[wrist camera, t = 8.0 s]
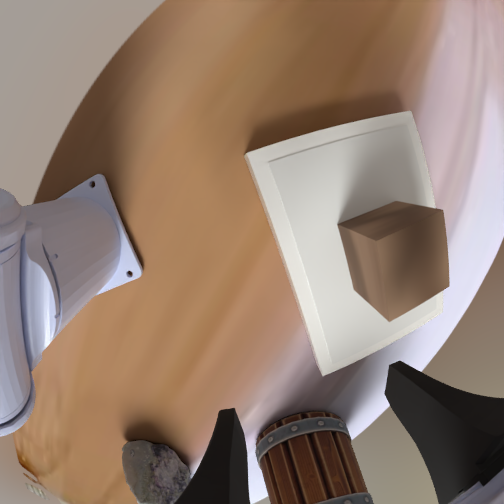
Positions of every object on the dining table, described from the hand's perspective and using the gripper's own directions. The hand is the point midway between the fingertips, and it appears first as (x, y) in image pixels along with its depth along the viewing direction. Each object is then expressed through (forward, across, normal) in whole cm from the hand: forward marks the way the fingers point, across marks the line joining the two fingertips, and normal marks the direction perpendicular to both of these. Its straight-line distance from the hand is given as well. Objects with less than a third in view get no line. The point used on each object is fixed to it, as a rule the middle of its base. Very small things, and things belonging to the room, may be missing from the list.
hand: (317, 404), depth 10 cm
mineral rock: (+11, +18, +21) cm, 30 cm away
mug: (+11, 0, +20) cm, 23 cm away
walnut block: (+8, -8, -4) cm, 12 cm away
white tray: (+10, -8, -3) cm, 13 cm away
